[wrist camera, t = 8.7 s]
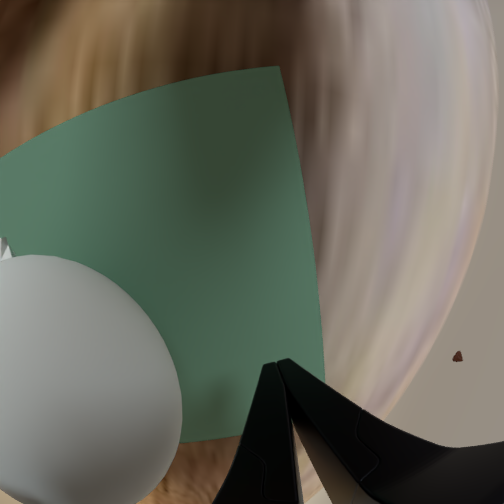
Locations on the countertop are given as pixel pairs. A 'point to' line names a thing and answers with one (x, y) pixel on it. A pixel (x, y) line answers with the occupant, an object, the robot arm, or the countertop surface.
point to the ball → (81, 388)
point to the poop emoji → (457, 357)
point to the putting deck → (184, 228)
